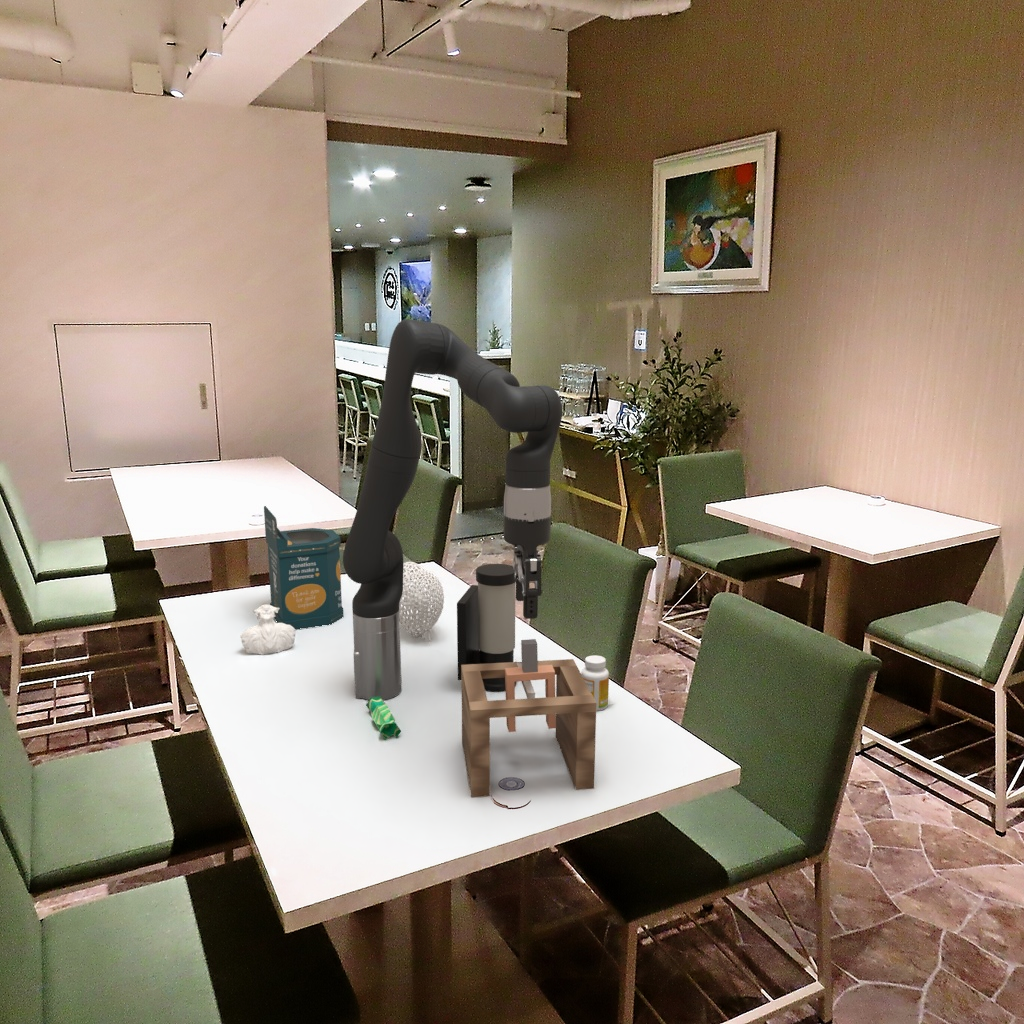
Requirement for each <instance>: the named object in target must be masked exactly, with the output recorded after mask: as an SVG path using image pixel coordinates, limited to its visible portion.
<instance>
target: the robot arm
mask: <svg viewBox="0 0 1024 1024" xmlns="http://www.w3.org/2000/svg"><path fill="white" fill-rule="evenodd" d="M388 347H389V348H388V355H387V360H386V361H387V362H386V370H385V377H384V383H383V392H382V397H381V403H380V408H379V411H378V417H377V422H376V426H375V431H374V435H373V438H372V440H371V446H370V449H369V454H368V459H367V465H366V471H365V475H364V479H363V483H362V487H361V492H360V495H359V500H358V501H359V502H358V503H357V504H358V506H357V509H356V512H355V516H354V519H353V521H352V524H351V528H350V530H349V532H348V533H349V534H348V536H347V538H346V539H347V540H346V542H345V545H344V549H343V552H342V565H343V568H344V571H345V573H346V576H347V577H348V578H349V579H350V580H351V581H353V583H356V584H360V587H359V588H358V590H357V592H356V593H355V594H354V596H353V598H352V603H351V605H352V609H351V610H352V627H353V628H352V631H353V632H352V633H353V673H354V675H353V676H354V677H353V678H354V698H355V699H364V700H367V701H369V699H370V698H371V697H381V698H382V700H383V701H385V700H388V699H392V698H394V697H396V696H398V695H399V694H400V693H401V692H402V683H403V682H402V660H401V659H402V655H401V623H400V618H399V603H400V602H401V601H400V599H401V596H402V593H403V587H404V585H403V572H404V570H403V563H404V552H403V546H402V544H401V542H400V540H399V538H398V537H397V535H396V534H394V533H393V532H392V531H390V530H389V529H390V526H391V523H392V521H393V518H394V517H395V514H396V512H397V510H398V509H399V507H400V505H401V504H402V502H403V501H404V499H405V497H406V496H407V494H408V492H409V490H410V489H411V486H412V484H413V482H414V480H415V478H416V475H417V470H418V467H419V462H420V459H421V458H420V457H421V454H422V450H423V441H422V440H423V439H422V436H421V432H420V428H419V426H418V423H417V421H416V417H415V415H414V411H413V408H412V402H411V394H412V385H413V380H414V377H415V374H422V375H434V376H435V375H440V376H445V377H449V378H453V379H455V380H456V381H457V384H458V387H459V389H460V390H461V392H462V393H463V394H464V395H465V396H466V397H467V398H468V399H470V400H471V401H473V402H474V403H476V404H478V406H480V407H482V408H484V409H485V410H486V411H487V413H488V414H489V416H490V418H492V419H493V421H494V423H495V424H496V425H497V426H498V427H499V428H500V429H502V430H503V431H506V432H509V433H514V434H519V433H526V436H525V439H524V441H523V442H522V443H520V444H518V445H517V446H514V447H512V448H510V449H509V450H508V451H507V452H506V456H505V489H504V495H503V540H504V542H505V543H507V544H508V545H513V550H512V551H513V553H512V555H513V556H512V557H513V559H512V561H513V562H512V566H513V570H514V572H515V573H514V576H515V578H517V579H516V582H515V601H517V602H522V615H523V619H525V620H531V619H532V620H533V619H537V618H538V616H539V615H538V606H539V605H538V603H539V598H538V597H541V596H542V593H543V590H542V565H543V560H542V557H541V554H540V553H539V550H538V547H539V546H541V545H542V546H543V545H545V544H548V543H549V542H550V541H551V531H552V528H551V525H552V494H551V460H552V456H553V452H554V450H555V449H554V448H555V444H556V443H557V442H556V441H557V438H558V433H559V430H560V428H561V423H562V420H563V419H562V418H563V406H562V400H561V398H560V395H559V394H558V392H557V391H556V390H555V389H554V388H553V387H551V386H549V385H544V384H541V385H525V386H521V384H520V382H519V380H518V378H517V377H515V375H513V374H512V373H511V372H509V370H506V369H504V368H502V367H501V366H499V365H497V364H496V363H493V362H492V361H490V360H488V359H486V358H484V357H483V356H482V355H479V353H477V352H476V351H474V350H473V349H472V348H471V346H469V345H467V343H465V342H464V340H462V338H461V337H459V336H458V335H457V334H456V333H455V332H454V331H453V330H451V329H450V328H449V327H448V326H445V325H444V324H440V323H436V322H428V321H423V320H416V319H410V318H409V319H408V318H407V319H402V320H400V322H398V323H397V325H396V326H395V328H394V330H393V333H392V335H391V337H390V342H389V346H388ZM531 583H533V585H534V587H531V588H530V584H531Z"/></svg>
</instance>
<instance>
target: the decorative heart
mask: <svg viewBox="0 0 1024 1024" xmlns="http://www.w3.org/2000/svg"><path fill="white" fill-rule="evenodd" d="M444 594H445V593H444V589H443V585H442V583H441V580H440V579H439V578H438V576H437V575H436V574H434V573H433V572H431V571H429V570H426V569H425V568H424V566H422V565H420V564H419V563H416V562H414V561H406V562H403V593H402V596H401V599H400V603H399V618H400V626H402V628H403V629H404V630H405V631H406V632H407V633H408V634H410V635H411V636H413V637H416V638H418V637H422V640H423V641H425V635H426V633H427V635H428V638H427V639H428V641H427V642H428V643H431V630H432V628H433V627H434V626H435V625H436V624H437V622H438V621H439V618H441V615H442V613H443V609H444V603H445V595H444Z"/></svg>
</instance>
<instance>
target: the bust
mask: <svg viewBox="0 0 1024 1024" xmlns="http://www.w3.org/2000/svg"><path fill="white" fill-rule="evenodd" d="M279 609H280V608H276V607H273V606H271V605H270V604H266V603H265V604H262V605H260V606H259V607H258V608H256V609H255V610H252V613H253V614H254V615H255V616H257V618H256V620H259V619H260V622H259V624H257V625H252V626H250V627H249V628H247V629H245V630H244V631H242V633H241V635H240V639H241V643H242V646H243V649H244V651H246V653H248V654H257V655H260V654H263V655H266V654H275V653H276V652H279V653H281V652H282V651H283V652H284V651H286V650H288V649H291V648H292V647H293V645H294V643H295V638H296V630H295V629H294V628H293V627H292V626H291V625H286V624H284V623H277V622H276V620H275V619H274V617H276V615H275V612H276V613H278V610H279Z"/></svg>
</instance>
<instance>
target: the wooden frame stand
mask: <svg viewBox="0 0 1024 1024" xmlns="http://www.w3.org/2000/svg"><path fill="white" fill-rule="evenodd" d="M541 665H552V666H553V668H554V671H555V697H546V696H545V697H536V692H535V689H534V686H533V684H532V680H529V681H520V682H521V684H522V688H523V690H524V693H525V696H526V698H517V699H516V698H515V699H511V700H506V699H499V700H497V699H496V700H488V697H487V693H486V692H487V691H485V688H484V684H483V680H482V679H487V678H505V668H514V667H522V661H514V662H507V663H488V664H468V665H461V680H460V682H461V745H462V749H463V756H464V757H463V758H464V762H465V768H466V769H465V770H466V774H467V780H468V785H469V791H470V792H469V793H470V797H471V798H479V797H489V796H491V724H490V723H491V720H490V719H493V718H494V719H495V718H506V717H515V718H516V717H527V716H528V717H529V716H546V715H549V714H556V728H555V735H554V736H555V737H554V738H555V739H556V742H557V745H558V747H559V750H560V752H561V756H562V757H563V760H564V762H565V765H566V767H567V771H568V773H569V776H570V778H571V781H572V783H573V785H574V788H575V790H577V791H579V790H589V789H595V774H596V773H595V771H596V770H595V769H596V767H595V766H596V735H597V734H596V731H597V711H596V701H595V699H594V697H593V696H592V694H591V692H590V690H589V688H588V686H587V684H586V682H585V680H584V679H583V677H582V675H581V671H580V669H579V667H578V665H577V663H576V662H575V660H574V659H573V658H571V659H570V658H568V659H549V660H538V666H541Z"/></svg>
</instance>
